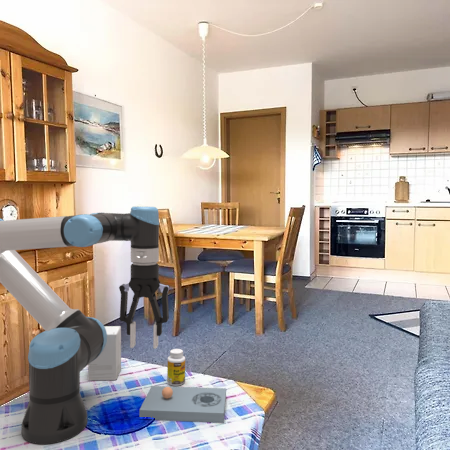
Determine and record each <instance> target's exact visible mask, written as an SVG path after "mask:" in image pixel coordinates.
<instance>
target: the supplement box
mask: <svg viewBox="0 0 450 450" xmlns="http://www.w3.org/2000/svg"><path fill="white" fill-rule="evenodd" d="M104 327H105V329H106V332H107V343H106V346H105V348H104V350H103V351H102V352H101V354H100V355H99V356H98V357H97V358H96V359H95V360H93V361H92V362H91V363H90V364H88V365H87V370H88V372H87V375H88V376H87V377H88V379H87V380H88V381H116V380H117V379H118V377H119V375H120V372H121V370H122V326H121V325H115V326H113V325H111V326H110V325H109V326H107V325H104Z"/></svg>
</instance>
